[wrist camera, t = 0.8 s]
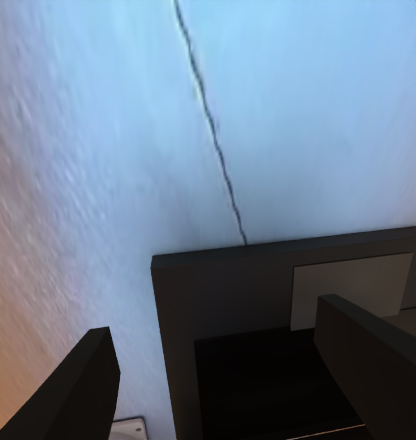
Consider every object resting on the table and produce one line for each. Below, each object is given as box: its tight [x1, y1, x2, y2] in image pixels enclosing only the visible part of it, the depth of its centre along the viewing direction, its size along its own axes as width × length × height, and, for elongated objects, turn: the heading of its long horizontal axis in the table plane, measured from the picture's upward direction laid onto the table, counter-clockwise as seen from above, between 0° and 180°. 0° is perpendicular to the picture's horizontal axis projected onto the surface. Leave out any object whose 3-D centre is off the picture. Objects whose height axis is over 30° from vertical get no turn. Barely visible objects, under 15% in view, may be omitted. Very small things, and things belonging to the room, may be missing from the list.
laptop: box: [150, 227, 416, 440], centre depth 23 cm, size 21×30×2 cm
